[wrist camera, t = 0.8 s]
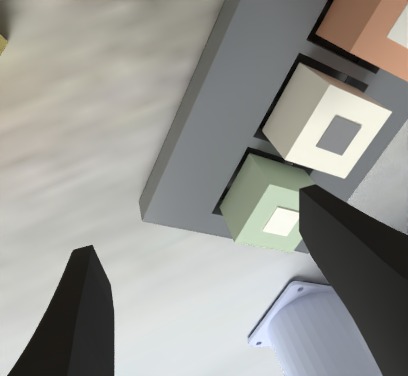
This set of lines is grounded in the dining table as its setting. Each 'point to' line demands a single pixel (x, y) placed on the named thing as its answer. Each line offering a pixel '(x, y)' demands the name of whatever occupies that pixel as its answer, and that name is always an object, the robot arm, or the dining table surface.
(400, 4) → the key peach
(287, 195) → the key sage
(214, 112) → the keypad
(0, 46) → the candy box
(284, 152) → the key ivory
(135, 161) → the dining table surface
